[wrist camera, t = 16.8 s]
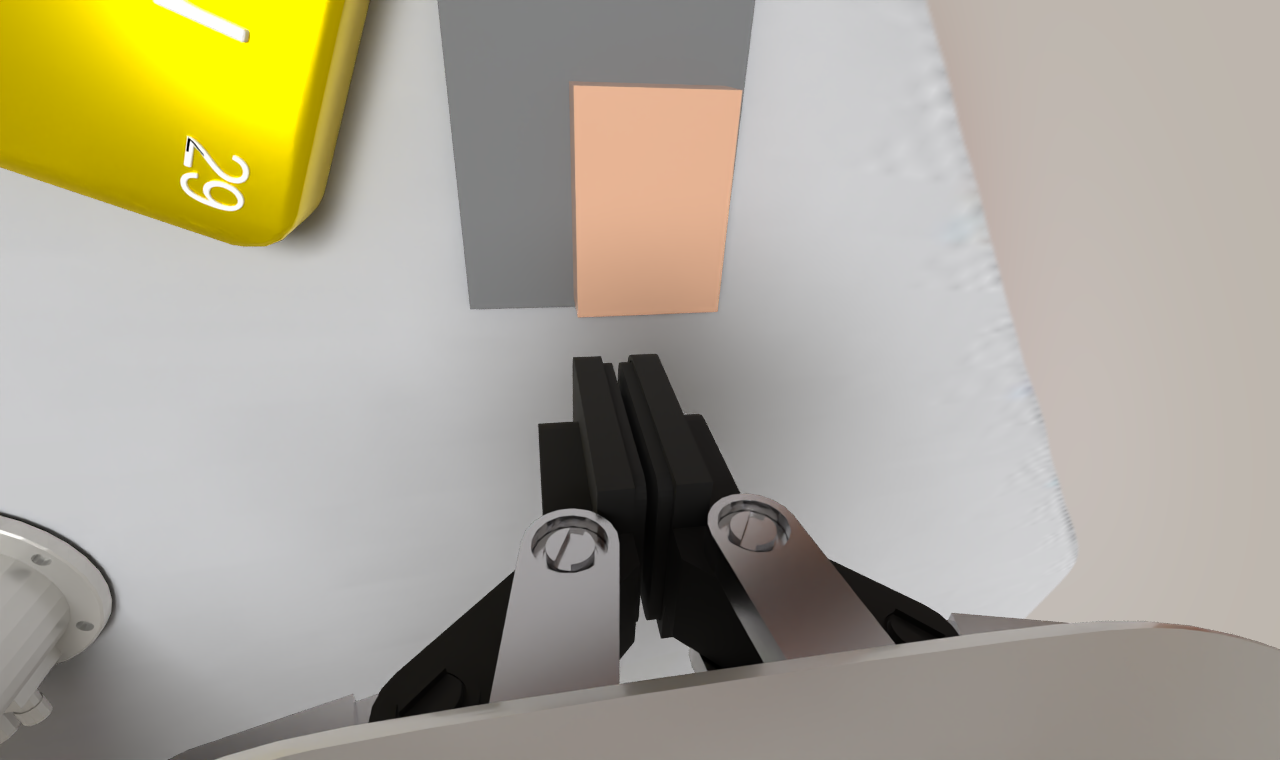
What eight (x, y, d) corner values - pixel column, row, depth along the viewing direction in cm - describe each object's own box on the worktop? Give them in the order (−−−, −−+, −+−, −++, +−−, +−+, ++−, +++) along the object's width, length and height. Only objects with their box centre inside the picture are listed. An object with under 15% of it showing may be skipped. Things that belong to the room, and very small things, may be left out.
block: (573, 298, 30) (704, 293, 31) (577, 317, 28) (717, 311, 29) (568, 81, 25) (725, 85, 26) (573, 85, 23) (742, 90, 24)
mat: (714, 298, 32) (717, 302, 32) (471, 304, 30) (470, 309, 29) (761, -92, 24) (766, -95, 23) (426, -126, 21) (423, -130, 21)
